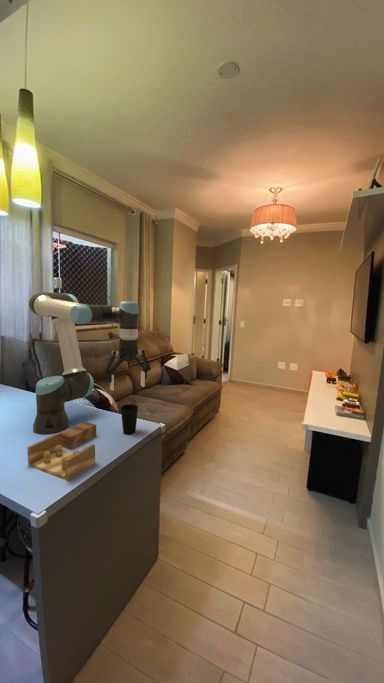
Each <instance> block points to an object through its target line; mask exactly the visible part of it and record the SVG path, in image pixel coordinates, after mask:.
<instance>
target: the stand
mask: <svg viewBox="0 0 384 683" xmlns="http://www.w3.org/2000/svg"><path fill="white" fill-rule="evenodd" d="M26 447H27V448H26V449H27V465H28V464H29V465H32V466H33V467H32V466H31V467H32V468H34V467H36V468H35V469H37V468H38V469H37V470H40V469H41V470H40V471H42V470H43V471H42V472H45V471H46V472H45V473H47V472H48V474H50V475H53V476H56V477H58V478H61V479H64V480H66V481H70V480H72V479H73V478H75V477H77V476H78V475H79V474H81V473H82V472H84V471H85V470H87V469H89V468H90V467H91V466H93V465H94V464H96V445H95V444H92V443H91V444H90V445H88V446H86V447H85V448H82V449H81V450H75V451H73V452H70V451H67V450H64V449H63V447H62V445H59V434H58V433H53V434H52V435H50V436H48V437H47V436H46V437H45V438H42V439H41V440H39V441H36V442H35V443H31V444H29V445H28V446H26ZM29 465H28V466H29Z"/></svg>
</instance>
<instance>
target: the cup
mask: <svg viewBox="0 0 384 683" xmlns="http://www.w3.org/2000/svg"><path fill="white" fill-rule="evenodd" d="M138 406H139V405H137V404H133V403H132V404H130V403H128V404H124V405H122V406H120V414H121V422H122V423H121V424H122V433H123V434H124V435H127V436H129V435H135V433H136V430H137V421H138V410H139V407H138Z"/></svg>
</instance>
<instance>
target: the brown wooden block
mask: <svg viewBox="0 0 384 683" xmlns="http://www.w3.org/2000/svg"><path fill="white" fill-rule="evenodd" d="M57 434H59V445H62V448H64V449H67V450H73V449H75V448H76V447H79V446H80V445H82V444H84V443H86V442H88V441H90V440H92V439H93V438H95V437H97V424H96V423H91V422H87V421H82V422H81V423H78V424H76V425H74V426H72V427H68V428H66V429H64V430H62V431H60V432H57Z"/></svg>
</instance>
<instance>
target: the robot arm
mask: <svg viewBox="0 0 384 683" xmlns="http://www.w3.org/2000/svg"><path fill="white" fill-rule="evenodd" d="M28 307H29V310H30V311H31V312H32V313H33V314H34V315H36V316H38V317H51V322H52V323H53V324H55V326H56V332H57V338H58V343H59V349H60V353H61V360H62V365H63V370H64V371H63V372H62V373H61V375H53V376H47V377H44V378H42V379H40V380H39V381H37V382H36V385H35V398H36V399H35V400H36V401H35V402H36V414H35V419H34V422H33V424H32V431H33V432H34V433H35V434H38V435H39V434H40V435H51V434H57V433H60V432H62V431H65V430H67V429H68V428H69V426H70V420H69V416H68V415H67V413H66V410H65V408H66V407H65V403H68V402H71V401H75V400H79V399H83V398H85V397H88V396H90V395H91V394H92V392H93V391H94V386H95V383H94V382H95V380H94V377H93V376H92V375H91V374H90V373H88V372H87V369H86V368H84V367H83V361H82V358H81V357H82V356H81V352H80V347H79V346H80V345H79V341H78V336H77V330H76V325H88V324H118V325H119V334H118V337H119V341H118V342H119V344H118V348H119V349H118V350H111V353H110V357H109V358H108V360H107V363H106V365H105V367H104V368H103V371H102V372H103V373H104V374H105V375H107V383H109V390H111V391H112V392H114V390H115V375H114V372H116V370H118V368H119V367H120V366H121V364H122V363H123V362H124V361H125V362H128V361H131V362H133V361H134V362H135V363H136V364H137V366H138V367H139V368H141V371H140V386H141V387H142V388H145V383H146V381H145V380H146V379H147V378H148V372H149V371H151V370H152V368H151V365H150V363H149V360H148V358H147V357H146V352H145V350H144V349H143V348H140V349H138V344H139V343H138V342H139V341H138V338H139V313H140V312H139V304H138V302H137V301H125V300H124V301H122V300H121V301H120V303H119V305H113V304H86V303H79V301H78V299H77V297H76V296H74V295H73V294H71V293H66V292H60V293H59V292H47V291H46V292H45V291H44V292H43V291H41V292H36V293H35V294H33V295H32V296H31V297H30V298H29V299H28ZM138 354H139V355H140V358H141V359H142V362H143V363H142V362H141V361H140V360H139V358H138V357H137V355H138ZM118 356H119V357H118ZM116 357H118V358H117V360H116V361H115V359H116ZM114 361H115V362H114Z"/></svg>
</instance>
